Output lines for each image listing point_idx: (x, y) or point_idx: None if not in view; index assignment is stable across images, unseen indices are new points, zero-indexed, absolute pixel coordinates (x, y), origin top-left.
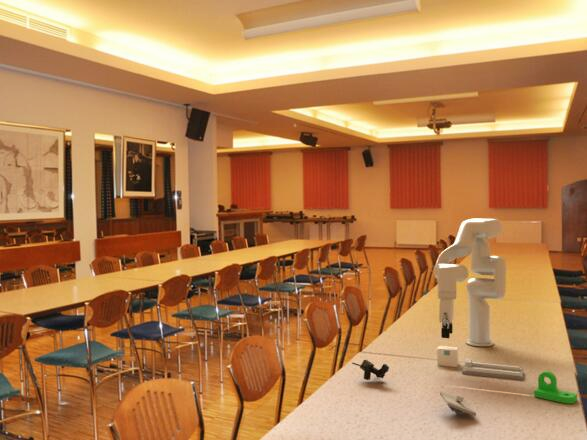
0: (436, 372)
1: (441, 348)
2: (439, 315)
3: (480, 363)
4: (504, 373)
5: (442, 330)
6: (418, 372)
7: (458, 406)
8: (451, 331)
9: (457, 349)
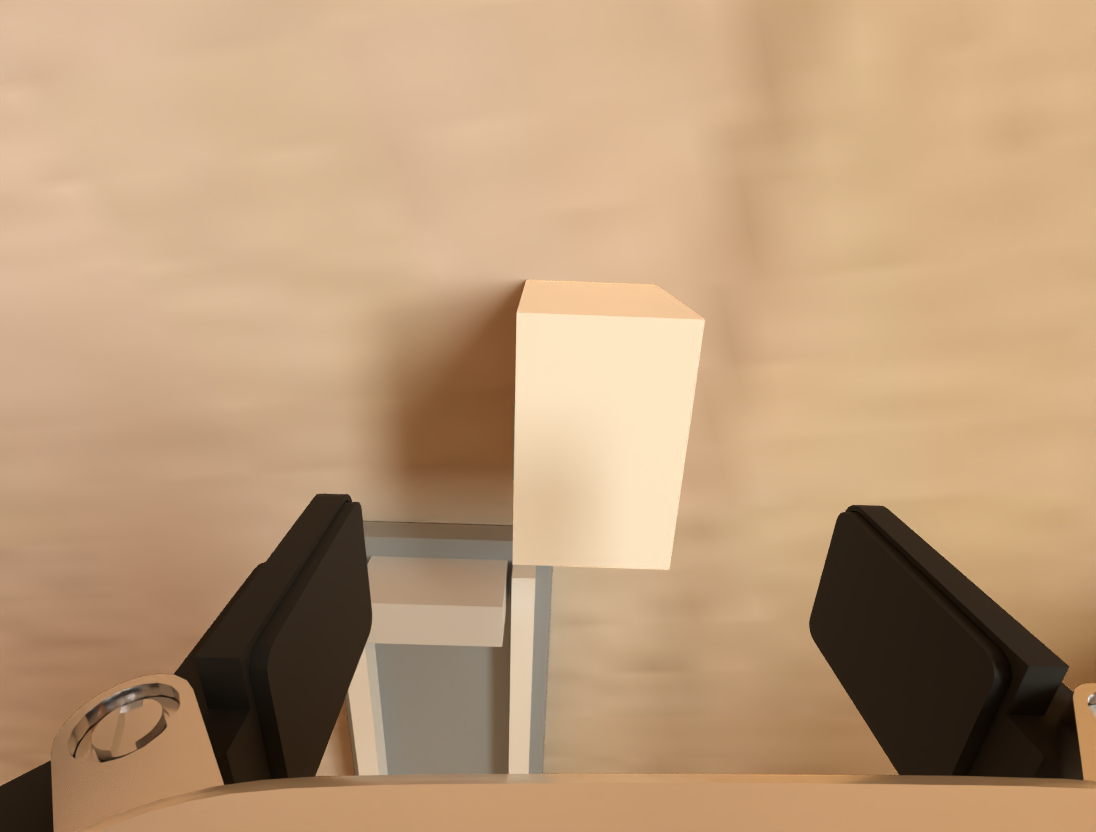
0: (260, 300)
1: (547, 374)
2: None
3: (515, 672)
4: None
5: (238, 627)
6: (156, 100)
7: None
8: (826, 652)
9: (582, 563)
